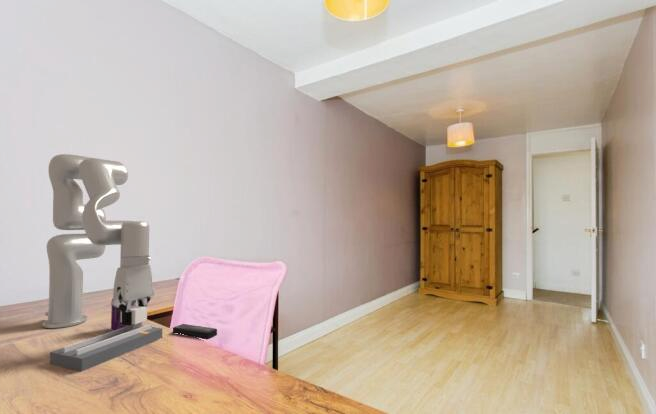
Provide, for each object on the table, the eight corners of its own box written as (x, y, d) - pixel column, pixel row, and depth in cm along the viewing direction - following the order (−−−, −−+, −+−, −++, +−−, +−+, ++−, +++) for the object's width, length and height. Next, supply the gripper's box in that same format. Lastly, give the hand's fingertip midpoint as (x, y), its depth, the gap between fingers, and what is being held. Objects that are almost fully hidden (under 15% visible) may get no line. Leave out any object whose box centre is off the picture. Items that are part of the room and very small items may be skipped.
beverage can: (124, 333, 108) (124, 296, 108) (105, 332, 109) (106, 295, 110) (140, 326, 115) (141, 291, 115) (123, 325, 116) (123, 290, 117)
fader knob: (120, 331, 100) (120, 308, 101) (132, 327, 104) (132, 305, 104) (135, 334, 98) (135, 310, 98) (146, 330, 102) (147, 307, 102)
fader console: (49, 364, 85) (50, 347, 85) (133, 333, 108) (133, 320, 108) (81, 371, 81) (82, 353, 81) (162, 338, 104) (162, 324, 104)
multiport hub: (207, 340, 103) (207, 333, 103) (172, 334, 108) (172, 327, 108) (217, 335, 107) (217, 328, 107) (182, 330, 112) (182, 323, 112)
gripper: (148, 258, 111) (148, 314, 110) (99, 264, 95) (97, 329, 95) (166, 259, 108) (165, 316, 108) (117, 266, 93) (116, 332, 92)
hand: (133, 321), depth 101 cm, fingers closed on fader knob, 4 cm apart
